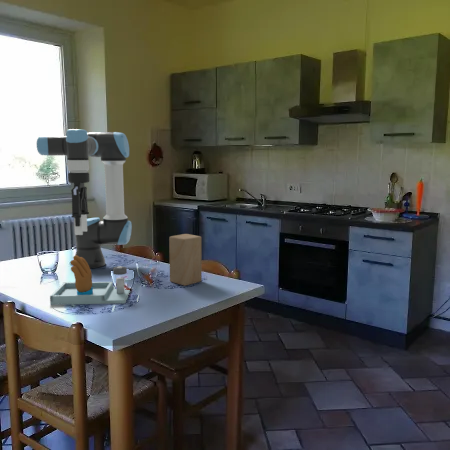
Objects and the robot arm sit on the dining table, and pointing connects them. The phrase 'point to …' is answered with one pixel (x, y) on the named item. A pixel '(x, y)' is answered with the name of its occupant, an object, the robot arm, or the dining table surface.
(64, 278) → the dining table surface
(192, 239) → the wooden block
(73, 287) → the tray
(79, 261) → the toy
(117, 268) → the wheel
